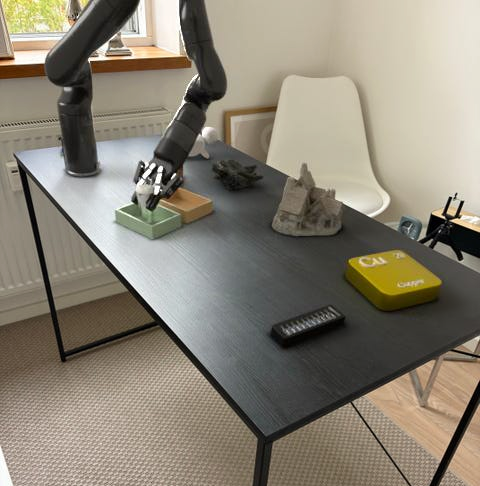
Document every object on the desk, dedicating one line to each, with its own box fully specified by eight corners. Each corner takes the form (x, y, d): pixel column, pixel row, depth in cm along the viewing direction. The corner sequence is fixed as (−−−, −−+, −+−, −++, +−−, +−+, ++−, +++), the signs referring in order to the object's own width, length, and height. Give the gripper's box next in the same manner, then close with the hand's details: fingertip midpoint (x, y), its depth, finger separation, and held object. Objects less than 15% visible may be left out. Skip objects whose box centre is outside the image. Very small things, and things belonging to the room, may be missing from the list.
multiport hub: (269, 334, 90) (270, 325, 89) (329, 313, 97) (331, 303, 95) (283, 348, 87) (285, 338, 86) (344, 325, 94) (346, 315, 92)
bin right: (150, 207, 130) (150, 196, 128) (176, 197, 136) (176, 186, 134) (186, 223, 124) (186, 211, 122) (212, 212, 130) (212, 200, 128)
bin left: (115, 221, 122) (114, 209, 120) (144, 210, 128) (144, 198, 126) (152, 239, 116) (151, 226, 114) (181, 226, 122) (181, 214, 120)
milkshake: (161, 218, 123) (159, 179, 117) (150, 226, 119) (147, 187, 113) (146, 213, 124) (143, 175, 118) (134, 222, 121) (130, 183, 114)
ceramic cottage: (262, 224, 125) (273, 168, 116) (298, 208, 136) (310, 155, 127) (313, 249, 118) (328, 191, 109) (346, 230, 129) (362, 176, 120)
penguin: (186, 170, 161) (226, 149, 163) (177, 146, 155) (218, 125, 157) (177, 161, 167) (215, 141, 169) (168, 138, 161) (207, 118, 163)
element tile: (382, 313, 97) (387, 293, 95) (341, 275, 108) (345, 256, 105) (440, 299, 103) (447, 280, 100) (395, 264, 113) (400, 246, 111)
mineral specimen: (244, 182, 134) (236, 146, 133) (207, 196, 140) (199, 161, 139) (269, 185, 146) (261, 152, 145) (233, 197, 153) (226, 165, 152)
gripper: (146, 129, 118) (112, 190, 118) (189, 144, 112) (153, 209, 111) (163, 146, 125) (130, 204, 125) (204, 161, 118) (170, 222, 118)
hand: (141, 206), depth 118 cm, fingers closed on milkshake, 4 cm apart
